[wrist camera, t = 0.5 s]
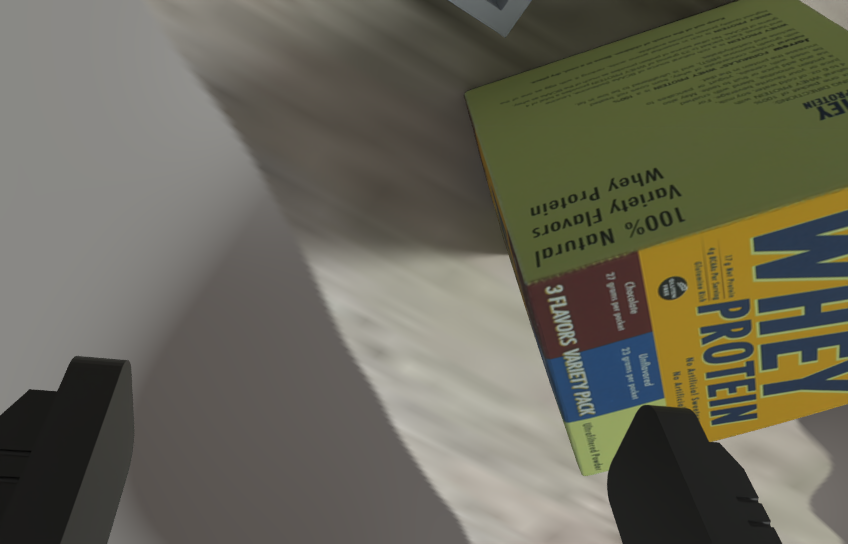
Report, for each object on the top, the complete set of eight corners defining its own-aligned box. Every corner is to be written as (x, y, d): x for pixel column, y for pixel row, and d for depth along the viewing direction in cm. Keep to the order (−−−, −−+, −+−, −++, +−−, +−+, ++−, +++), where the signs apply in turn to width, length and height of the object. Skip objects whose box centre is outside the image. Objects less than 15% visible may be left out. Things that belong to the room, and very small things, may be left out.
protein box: (457, 91, 36) (518, 285, 24) (780, -18, 34) (1029, 130, 22) (510, 258, 42) (579, 483, 30) (786, 173, 41) (984, 374, 28)
